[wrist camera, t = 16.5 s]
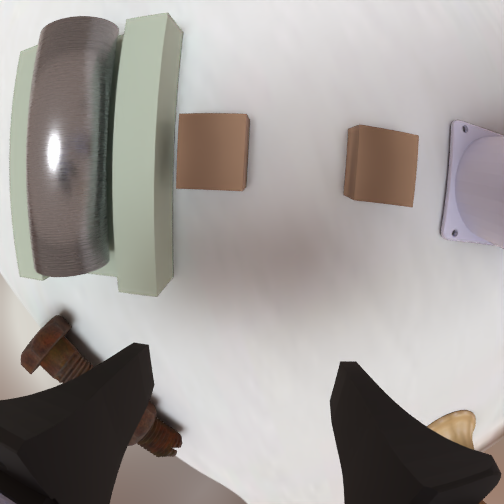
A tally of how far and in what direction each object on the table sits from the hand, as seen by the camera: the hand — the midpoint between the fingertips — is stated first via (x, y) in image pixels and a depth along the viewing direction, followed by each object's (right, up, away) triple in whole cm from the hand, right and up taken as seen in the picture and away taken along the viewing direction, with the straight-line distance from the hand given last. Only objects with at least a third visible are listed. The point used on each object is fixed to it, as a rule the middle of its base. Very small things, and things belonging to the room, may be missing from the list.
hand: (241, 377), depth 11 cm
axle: (-10, +11, +4) cm, 15 cm away
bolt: (-12, -7, +13) cm, 19 cm away
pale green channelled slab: (-10, +11, +7) cm, 16 cm away
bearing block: (+3, +10, +7) cm, 13 cm away
